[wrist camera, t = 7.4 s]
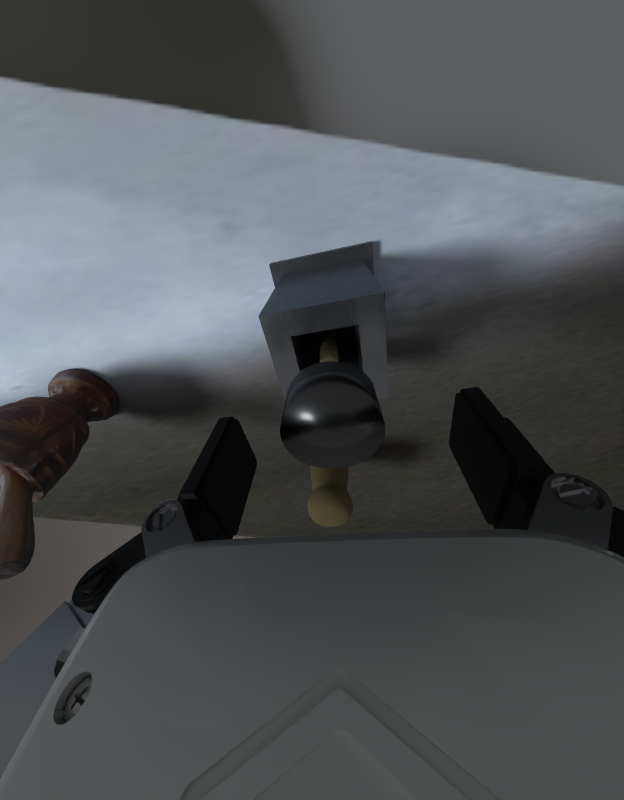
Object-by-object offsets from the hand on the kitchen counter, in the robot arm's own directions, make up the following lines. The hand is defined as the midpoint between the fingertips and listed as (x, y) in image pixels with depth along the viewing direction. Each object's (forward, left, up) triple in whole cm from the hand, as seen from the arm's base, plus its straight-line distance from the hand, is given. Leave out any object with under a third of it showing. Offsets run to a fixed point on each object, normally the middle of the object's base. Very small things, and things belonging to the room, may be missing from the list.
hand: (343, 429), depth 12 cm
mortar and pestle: (+30, +6, -18) cm, 36 cm away
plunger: (+1, 0, -14) cm, 14 cm away
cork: (+4, +20, -18) cm, 27 cm away
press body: (+1, +1, -18) cm, 18 cm away
